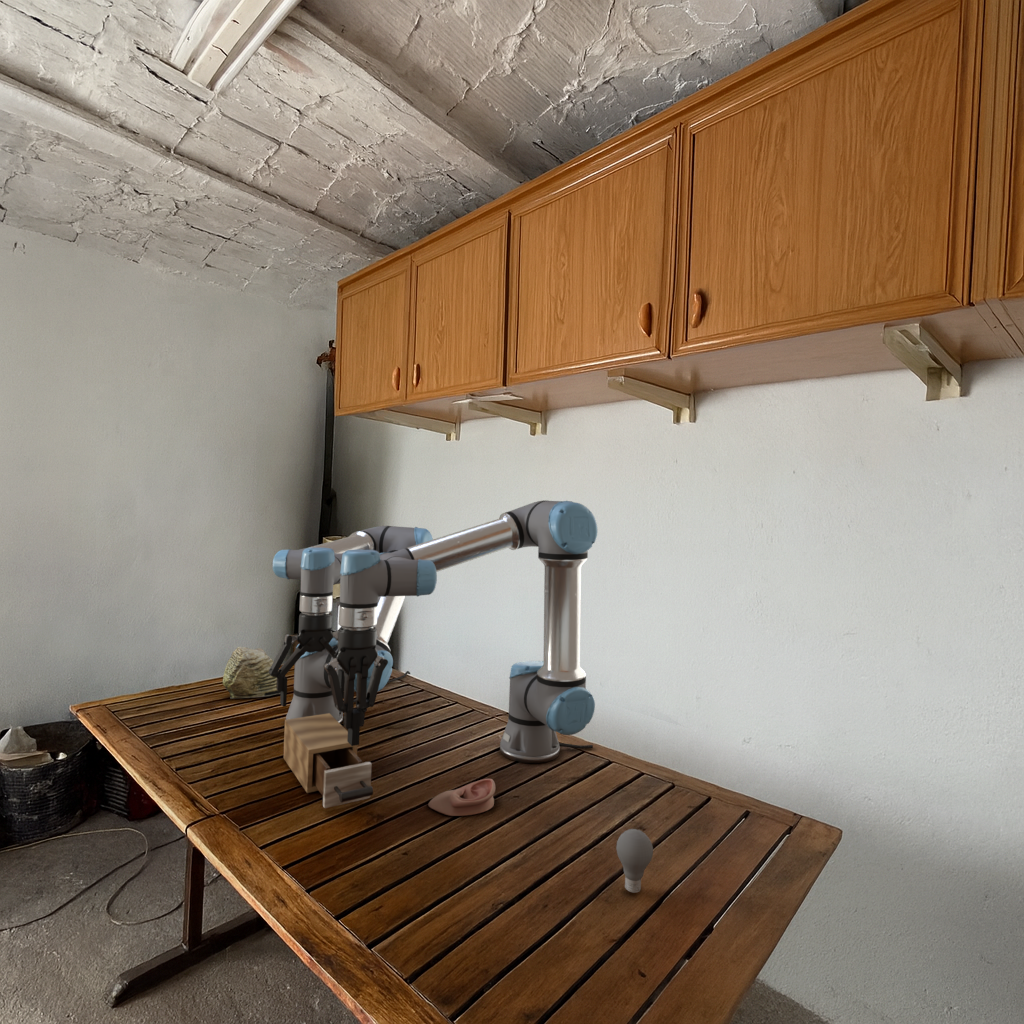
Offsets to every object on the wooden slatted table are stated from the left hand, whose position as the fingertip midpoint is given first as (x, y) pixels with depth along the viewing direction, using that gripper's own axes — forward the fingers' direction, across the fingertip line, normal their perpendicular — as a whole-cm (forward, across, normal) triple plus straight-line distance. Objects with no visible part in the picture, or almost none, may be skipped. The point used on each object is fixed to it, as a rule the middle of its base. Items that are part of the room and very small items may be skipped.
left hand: (312, 700), depth 152 cm
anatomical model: (+14, +21, -37) cm, 45 cm away
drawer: (+13, 0, -20) cm, 24 cm away
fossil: (+14, -2, +56) cm, 58 cm away
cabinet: (+14, 0, -7) cm, 16 cm away
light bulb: (+14, +32, -77) cm, 84 cm away
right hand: (0, 0, -29) cm, 29 cm away
